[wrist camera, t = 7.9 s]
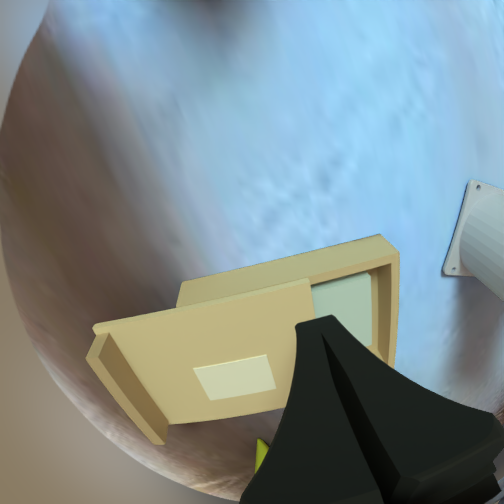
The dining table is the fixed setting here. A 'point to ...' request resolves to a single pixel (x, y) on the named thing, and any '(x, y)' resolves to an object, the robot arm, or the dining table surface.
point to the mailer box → (327, 287)
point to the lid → (203, 357)
